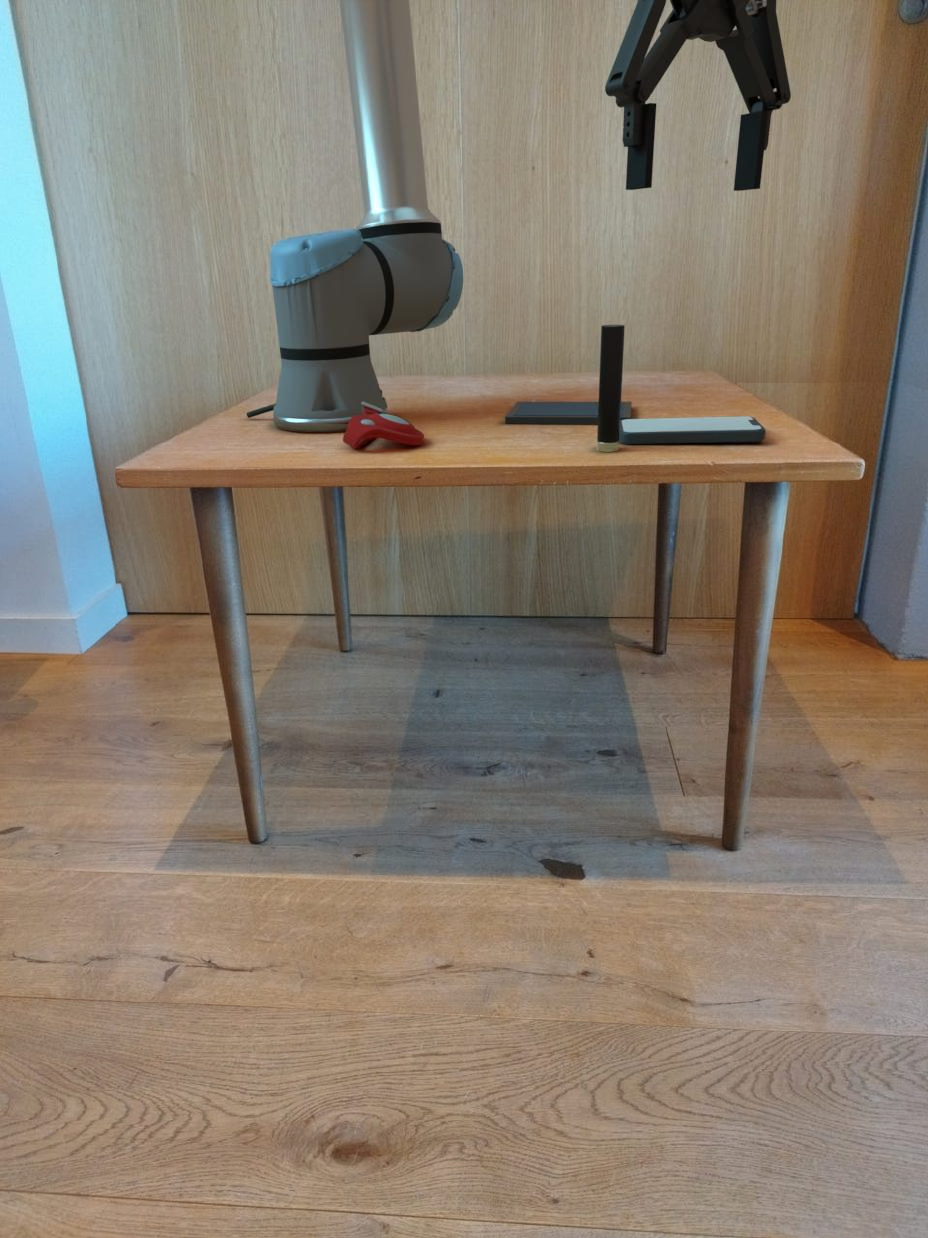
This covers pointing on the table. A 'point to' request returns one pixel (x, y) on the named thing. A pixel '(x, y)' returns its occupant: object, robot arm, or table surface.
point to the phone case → (691, 430)
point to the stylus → (610, 387)
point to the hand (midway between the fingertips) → (694, 189)
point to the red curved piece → (380, 428)
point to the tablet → (559, 412)
